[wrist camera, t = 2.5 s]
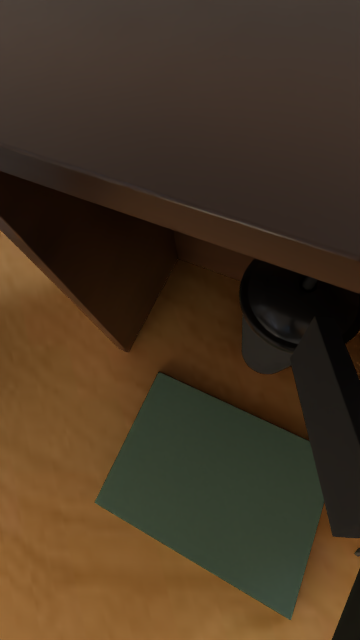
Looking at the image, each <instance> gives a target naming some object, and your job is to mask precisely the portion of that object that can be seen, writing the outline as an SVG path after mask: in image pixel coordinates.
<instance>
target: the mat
mask: <svg viewBox="0 0 360 640" xmlns="http://www.w3.org/2000/svg"><path fill="white" fill-rule="evenodd" d="M95 503H96V504H98V505H99V506H101V507H103V508H104V509H106V510H108V511H109V512H111V513H113V514H114V515H116V516H118V517H119V518H121V519H123V520H124V521H126V522H128V523H129V524H131V525H133V526H134V527H136V528H138V529H139V530H141V531H143V532H144V533H146V534H148V535H149V536H151V537H153V538H154V539H156V540H158V541H159V542H161V543H163V544H164V545H166V546H168V547H169V548H171V549H173V550H174V551H176V552H178V553H179V554H181V555H183V556H184V557H186V558H188V559H189V560H191V561H193V562H194V563H196V564H198V565H199V566H201V567H203V568H204V569H206V570H208V571H209V572H211V573H213V574H214V575H216V576H218V577H219V578H221V579H223V580H224V581H226V582H228V583H229V584H231V585H233V586H234V587H236V588H238V589H239V590H241V591H243V592H244V593H246V594H248V595H249V596H251V597H253V598H254V599H256V600H258V601H259V602H261V603H263V604H264V605H266V606H268V607H269V608H271V609H273V610H274V611H276V612H278V613H279V614H281V615H283V616H284V617H286V618H288V619H289V620H291V618H292V614H293V611H294V607H295V604H296V600H297V596H298V593H299V589H300V586H301V582H302V579H303V575H304V572H305V568H306V565H307V561H308V558H309V554H310V551H311V547H312V544H313V540H314V537H315V533H316V530H317V526H318V523H319V519H320V516H321V512H322V509H323V505H324V498H323V494H322V490H321V486H320V481H319V477H318V473H317V469H316V465H315V461H314V457H313V452H312V448H311V444H310V441H308V440H306V439H304V438H301V437H299V436H297V435H295V434H293V433H291V432H288V431H286V430H284V429H282V428H280V427H278V426H275V425H273V424H271V423H269V422H267V421H265V420H262V419H260V418H258V417H256V416H254V415H252V414H249V413H247V412H245V411H243V410H241V409H239V408H236V407H234V406H232V405H230V404H228V403H226V402H223V401H221V400H219V399H217V398H215V397H213V396H210V395H208V394H206V393H204V392H202V391H200V390H197V389H195V388H193V387H191V386H189V385H187V384H184V383H182V382H180V381H178V380H176V379H174V378H171V377H169V376H167V375H165V374H163V373H161V372H158V374H157V376H156V378H155V380H154V382H153V384H152V386H151V388H150V390H149V393H148V395H147V397H146V399H145V401H144V403H143V405H142V407H141V409H140V411H139V413H138V415H137V417H136V419H135V421H134V423H133V425H132V427H131V429H130V431H129V433H128V435H127V437H126V439H125V441H124V443H123V445H122V447H121V450H120V452H119V454H118V456H117V458H116V460H115V462H114V464H113V466H112V468H111V470H110V472H109V474H108V476H107V478H106V480H105V482H104V484H103V486H102V488H101V490H100V492H99V494H98V496H97V498H96V500H95Z"/></svg>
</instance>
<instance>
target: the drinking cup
mask: <svg viewBox="0 0 360 640" xmlns="http://www.w3.org/2000/svg"><path fill="white" fill-rule="evenodd" d="M239 300H240V306H241V310H242V313H243V321H242V355H243V358H244V360H245V362H246V364H247V365H248V366H249V367H250V368H251V369H253V370H254V371H256V372H259V373H262V374H273V373H276V372H278V371H281V370H283V369H285V368H287V367H289V366H291V361H290V357H291V356H292V354H293V352H294V351H295V349H296V347H297V345H298V344H299V342H300V340H301V338H302V337H303V335H304V333H305V332H306V330H307V328H308V326H309V325H310V323H311V321H312V320H313V318H314V316H320V317H330V318H334V319H335V321H336V324H337V326H338V329H339V331H340V333H341V336H342V338H343V341H344V343H345V344H346V343H347V342H349V341H350V340H351V339H352V338H353V337H354V336H355V335H356V334H357V333H358V331H359V330H360V294H358V293H356V292H353V291H350V290H347V289H344V288H341V287H338V286H335V285H332V284H329V283H326V282H323V281H320V280H318V279H315V278H312V277H309V276H306V275H303V274H300V273H297V272H294V271H291V270H288V269H285V268H282V267H280V266H277V265H274V264H271V263H268V262H265V261H262V260H259V259H256V258H254V259H253V260H252V262H251V263H250V264H249V265H248V267H247V268H246V270H245V272H244V274H243V277H242V280H241V284H240V290H239Z"/></svg>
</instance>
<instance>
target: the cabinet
mask: <svg viewBox="0 0 360 640" xmlns="http://www.w3.org/2000/svg"><path fill="white" fill-rule="evenodd" d="M0 230H1V231H2V232H3V233H4V234H5V235H6V236H7V237H8V238H9V239H10V240H11V241H12V242H13V243H14V244H15V245H16V246H17V247H18V248H19V249H20V250H21V251H22V252H23V253H24V254H25V255H26V256H27V257H28V258H29V259H30V260H31V261H32V262H33V263H34V264H35V265H36V266H37V267H38V268H39V269H40V270H41V271H42V272H43V273H44V274H45V275H46V276H47V277H48V278H49V279H50V280H51V281H52V282H53V283H54V284H55V285H56V286H57V287H58V288H59V289H60V290H61V291H62V292H63V293H64V294H65V295H66V296H67V297H68V298H69V299H70V300H71V301H72V302H73V303H74V304H75V305H76V306H77V307H78V308H79V309H80V310H81V311H82V312H83V313H84V314H85V315H86V316H87V317H88V318H89V319H90V320H91V321H92V322H93V323H94V324H95V325H96V326H97V327H98V328H99V329H100V330H101V331H102V332H103V333H104V334H105V335H106V336H107V337H108V338H109V339H110V340H111V341H112V342H113V343H114V344H115V345H116V346H117V347H118V348H119V349H121V350H123V351H126V352H129V350H130V348H131V346H132V344H133V342H134V341H135V339H136V337H137V335H138V333H139V331H140V329H141V327H142V326H143V324H144V322H145V320H146V318H147V316H148V314H149V312H150V311H151V309H152V307H153V305H154V303H155V301H156V299H157V297H158V295H159V294H160V292H161V290H162V288H163V286H164V284H165V282H166V280H167V279H168V277H169V275H170V273H171V271H172V269H173V267H174V265H175V264H176V262H177V260H178V259H181V260H184V261H186V262H189V263H192V264H195V265H197V266H200V267H203V268H206V269H208V270H211V271H214V272H217V273H219V274H222V275H225V276H228V277H230V278H233V279H236V280H239V281H241V280H242V277H243V274H244V272H245V270H246V268H247V267H248V265H249V264H250V263H251V262H252V260H253V259H254V258H256V259H259V260H262V261H265V262H268V263H271V264H274V265H277V266H280V267H282V268H285V269H288V270H291V271H294V272H297V273H300V274H303V275H306V276H309V277H312V278H315V279H318V280H320V281H323V282H326V283H329V284H332V285H335V286H338V287H341V288H344V289H347V290H350V291H353V292H356V293H358V294H360V0H0Z"/></svg>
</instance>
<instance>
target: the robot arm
mask: <svg viewBox="0 0 360 640" xmlns="http://www.w3.org/2000/svg"><path fill="white" fill-rule="evenodd" d="M290 361H291V365H292V370H293V374H294V378H295V382H296V386H297V390H298V394H299V399H300V403H301V407H302V411H303V415H304V419H305V423H306V428H307V432H308V436H309V440H310V444H311V448H312V452H313V457H314V461H315V465H316V469H317V473H318V477H319V481H320V486H321V490H322V494H323V498H324V502H325V506H326V511H327V515H328V519H329V523H330V527H331V531H332V535H333V537H346V538H360V380H359V378H358V375H357V373H356V370H355V368H354V365H353V363H352V360H351V358H350V356H349V353H348V351H347V348H346V346H345V343H344V341H343V338H342V336H341V333H340V331H339V329H338V326H337V324H336V321H335V319H334V318H330V317H320V316H314V318H313V320H312V321H311V323H310V325H309V326H308V328H307V330H306V332H305V333H304V335H303V337H302V338H301V340H300V342H299V344H298V345H297V347H296V349H295V351H294V352H293V354H292V356H291V357H290ZM354 554H355V555H356V556H360V548H358V549H357V550H356V552H355V553H354ZM332 640H360V569H359V572H358V574H357V577H356V579H355V582H354V584H353V587H352V590H351V592H350V595H349V597H348V600H347V602H346V605H345V607H344V610H343V612H342V615H341V618H340V620H339V623H338V625H337V628H336V630H335V633H334V635H333V638H332Z"/></svg>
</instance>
